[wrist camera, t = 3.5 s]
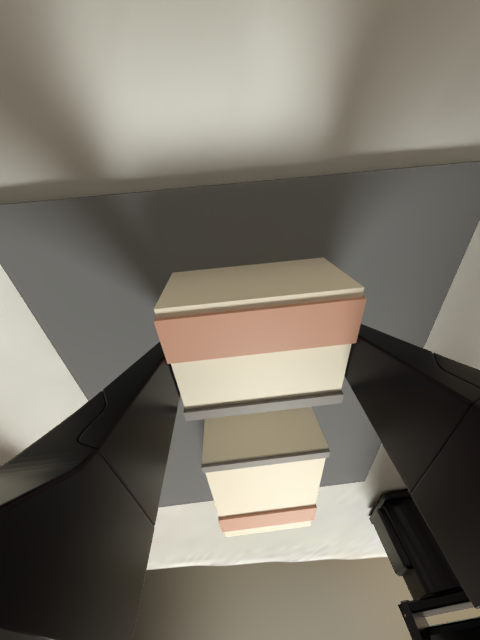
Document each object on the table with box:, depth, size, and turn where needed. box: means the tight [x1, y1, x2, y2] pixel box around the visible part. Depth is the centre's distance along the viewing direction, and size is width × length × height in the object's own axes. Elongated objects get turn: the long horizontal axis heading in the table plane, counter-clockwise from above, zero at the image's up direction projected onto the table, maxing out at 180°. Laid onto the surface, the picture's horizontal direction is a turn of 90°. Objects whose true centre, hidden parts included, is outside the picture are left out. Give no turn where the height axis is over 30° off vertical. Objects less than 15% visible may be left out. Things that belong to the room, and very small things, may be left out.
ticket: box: [201, 407, 330, 537], centre depth 15 cm, size 6×10×3 cm, turn 4°
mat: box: [0, 161, 480, 507], centre depth 14 cm, size 18×23×1 cm
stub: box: [154, 257, 367, 421], centre depth 9 cm, size 6×5×3 cm
